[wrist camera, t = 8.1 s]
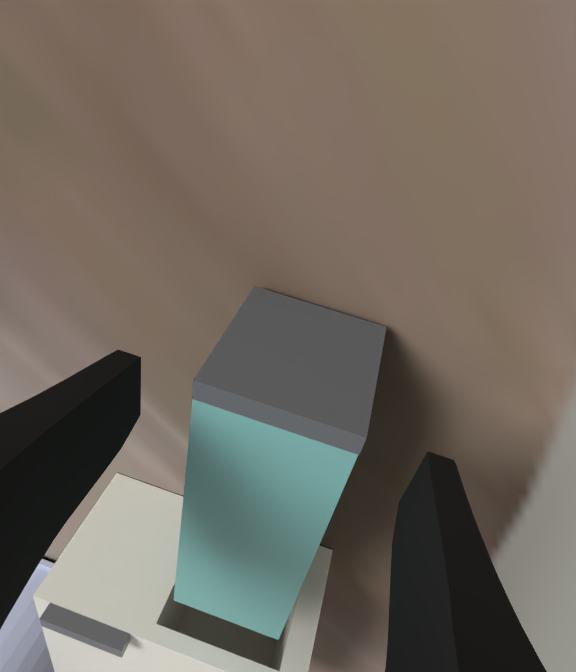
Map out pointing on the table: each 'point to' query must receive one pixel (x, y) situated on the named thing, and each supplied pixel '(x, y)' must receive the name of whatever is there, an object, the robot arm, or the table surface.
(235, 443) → the plug
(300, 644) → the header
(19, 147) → the table surface
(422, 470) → the robot arm
